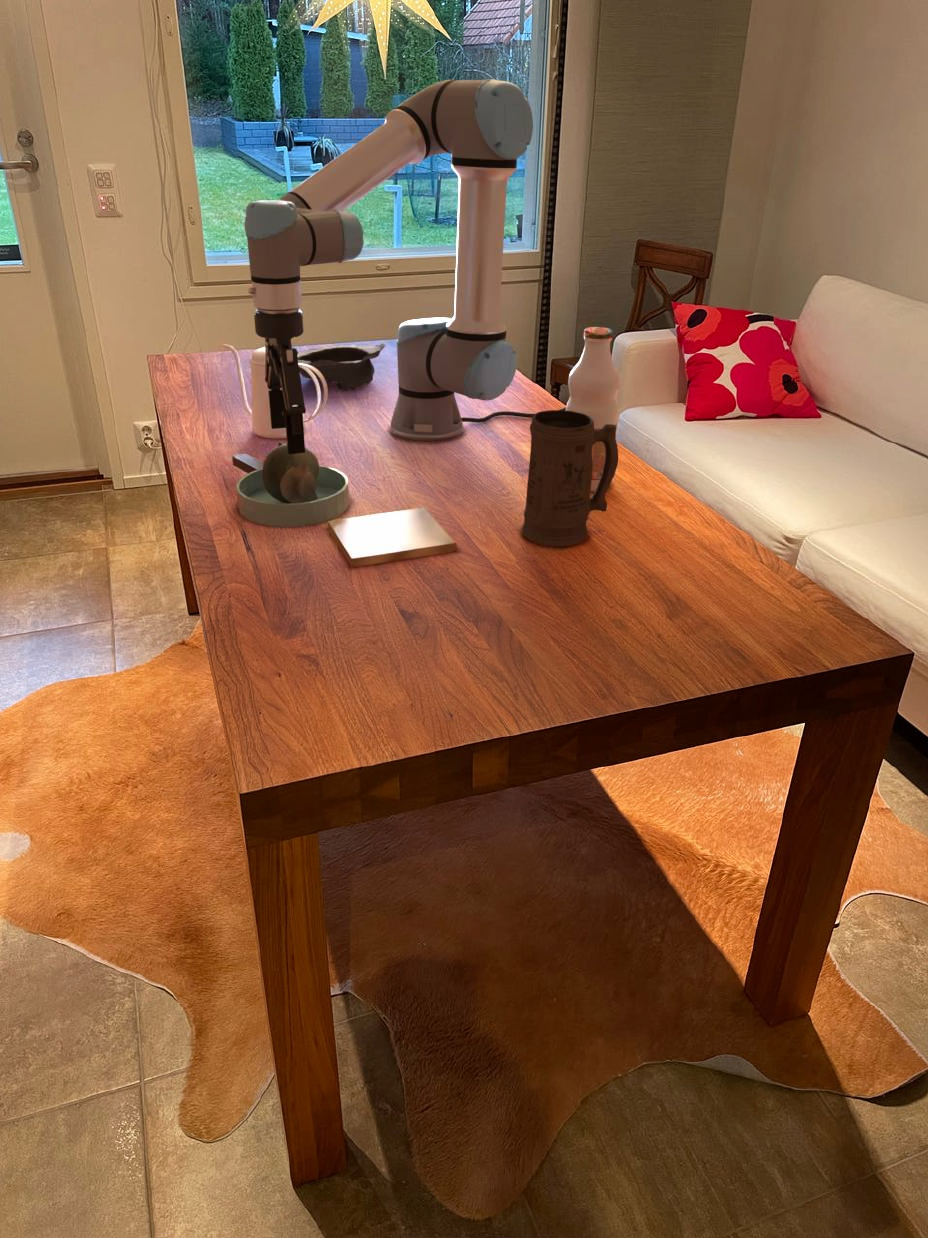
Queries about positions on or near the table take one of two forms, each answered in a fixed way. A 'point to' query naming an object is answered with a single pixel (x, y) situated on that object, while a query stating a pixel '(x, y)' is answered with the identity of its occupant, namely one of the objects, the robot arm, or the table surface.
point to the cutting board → (390, 536)
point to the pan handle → (246, 463)
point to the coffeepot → (261, 394)
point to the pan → (275, 513)
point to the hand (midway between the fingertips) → (287, 440)
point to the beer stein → (565, 476)
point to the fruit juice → (595, 390)
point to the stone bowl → (342, 364)
